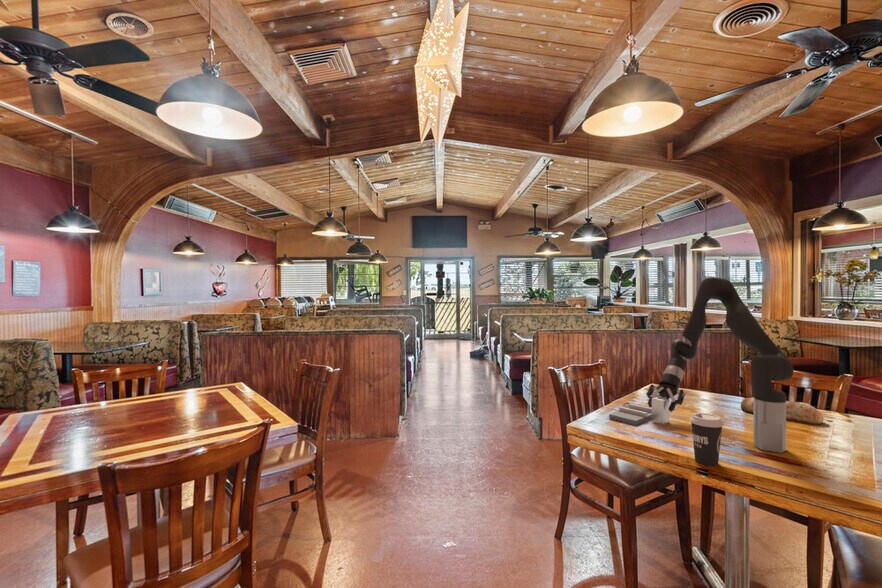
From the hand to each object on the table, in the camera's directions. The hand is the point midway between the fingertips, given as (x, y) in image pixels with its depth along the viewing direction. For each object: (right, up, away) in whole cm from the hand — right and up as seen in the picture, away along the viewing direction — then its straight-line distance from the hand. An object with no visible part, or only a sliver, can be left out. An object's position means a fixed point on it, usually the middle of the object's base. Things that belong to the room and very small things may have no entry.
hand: (659, 408), depth 181 cm
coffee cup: (-6, -7, -41) cm, 42 cm away
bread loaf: (+57, -6, +7) cm, 58 cm away
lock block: (0, -6, 0) cm, 6 cm away
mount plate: (-6, -6, +8) cm, 12 cm away
